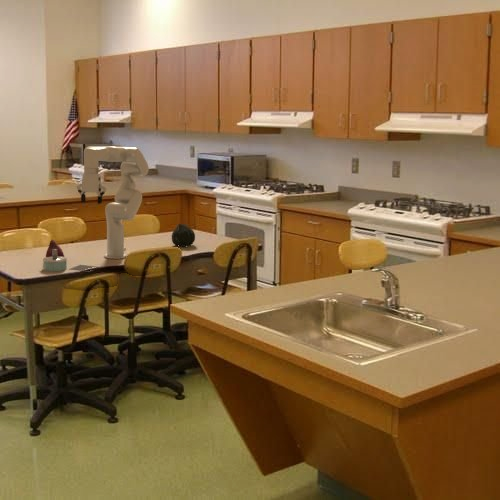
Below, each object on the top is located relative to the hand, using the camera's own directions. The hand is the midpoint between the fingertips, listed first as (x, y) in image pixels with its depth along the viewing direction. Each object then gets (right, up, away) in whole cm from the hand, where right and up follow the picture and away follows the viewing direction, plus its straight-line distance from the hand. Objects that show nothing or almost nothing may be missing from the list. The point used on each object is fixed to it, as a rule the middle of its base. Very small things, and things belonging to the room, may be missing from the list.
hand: (91, 202), depth 392 cm
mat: (-3, -36, -3) cm, 36 cm away
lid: (-18, -31, -8) cm, 36 cm away
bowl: (-18, -36, -7) cm, 41 cm away
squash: (+43, -23, +68) cm, 84 cm away
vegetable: (-22, -33, +10) cm, 41 cm away
